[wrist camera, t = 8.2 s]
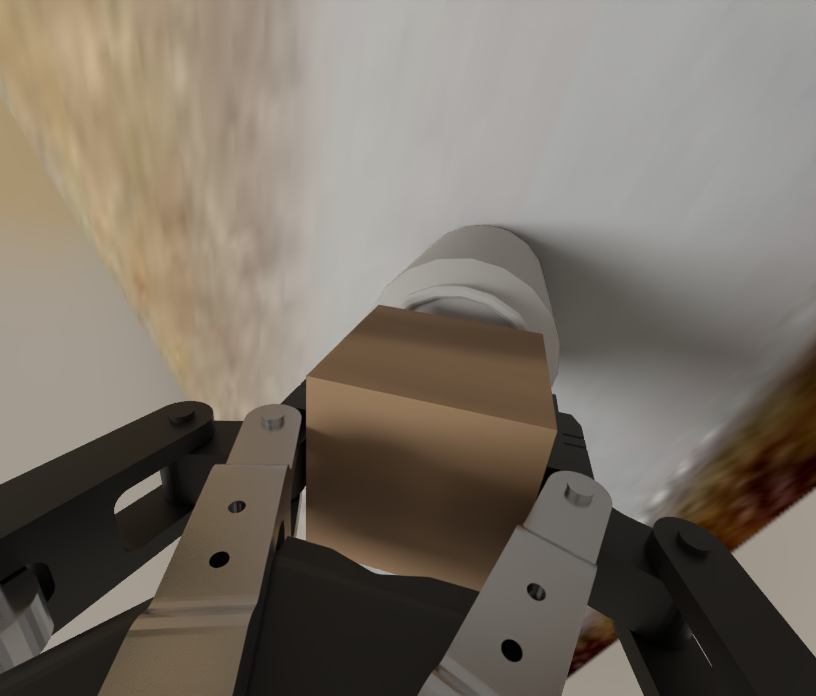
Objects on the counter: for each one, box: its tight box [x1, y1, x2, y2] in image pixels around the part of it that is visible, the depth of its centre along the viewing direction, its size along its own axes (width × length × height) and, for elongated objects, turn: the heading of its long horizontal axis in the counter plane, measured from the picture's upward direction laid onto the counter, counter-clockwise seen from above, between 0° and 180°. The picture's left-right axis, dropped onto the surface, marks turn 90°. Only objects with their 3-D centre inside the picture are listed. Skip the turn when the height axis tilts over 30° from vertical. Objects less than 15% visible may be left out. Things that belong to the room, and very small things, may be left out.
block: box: [306, 305, 557, 591], centre depth 11 cm, size 5×5×5 cm
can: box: [369, 225, 560, 387], centre depth 20 cm, size 8×8×12 cm
